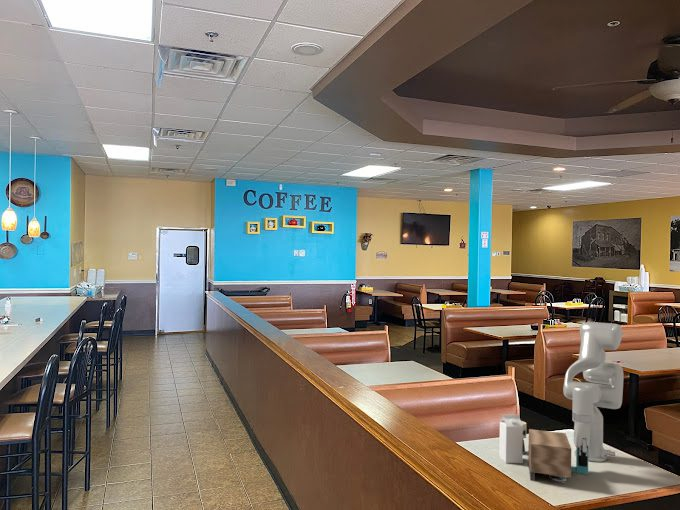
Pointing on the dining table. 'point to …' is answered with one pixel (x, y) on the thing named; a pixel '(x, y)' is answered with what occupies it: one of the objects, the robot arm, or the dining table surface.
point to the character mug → (524, 434)
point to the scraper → (580, 468)
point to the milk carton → (511, 439)
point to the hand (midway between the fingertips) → (582, 464)
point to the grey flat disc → (558, 478)
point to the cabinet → (549, 453)
